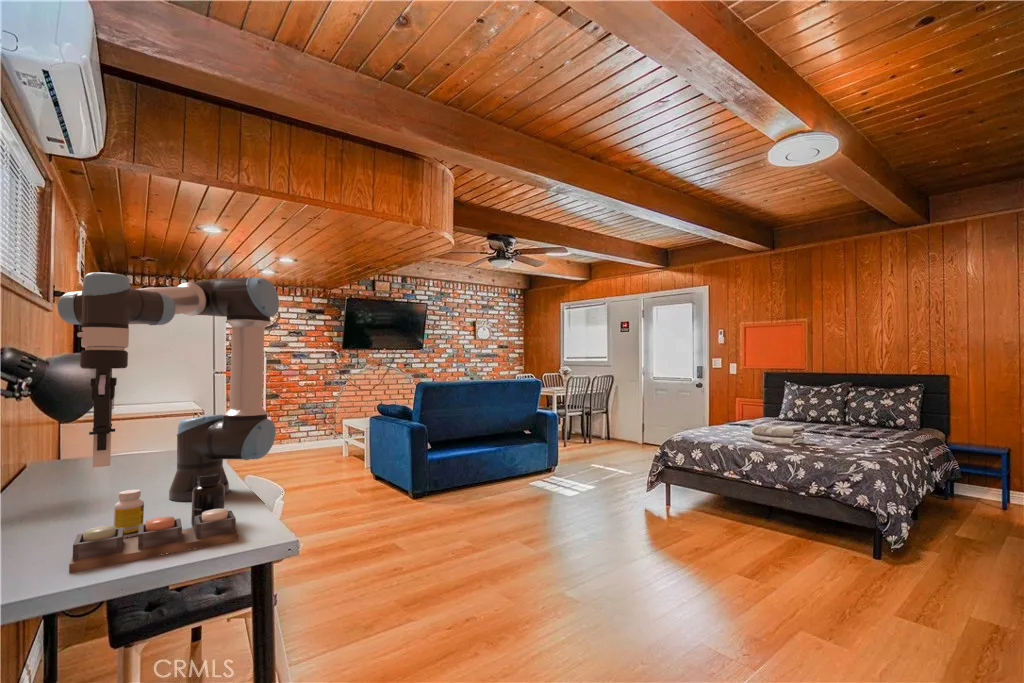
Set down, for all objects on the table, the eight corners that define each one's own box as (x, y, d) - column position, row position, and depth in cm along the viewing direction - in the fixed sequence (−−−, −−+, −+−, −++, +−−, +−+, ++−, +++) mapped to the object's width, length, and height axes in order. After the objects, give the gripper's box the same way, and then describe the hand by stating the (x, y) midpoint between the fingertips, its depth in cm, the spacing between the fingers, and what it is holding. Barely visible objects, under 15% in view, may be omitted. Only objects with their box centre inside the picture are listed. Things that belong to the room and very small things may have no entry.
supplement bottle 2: (186, 529, 118) (188, 478, 118) (196, 521, 124) (197, 472, 125) (219, 527, 119) (220, 476, 120) (227, 518, 126) (228, 470, 127)
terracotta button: (173, 526, 110) (174, 515, 110) (174, 532, 106) (175, 520, 106) (145, 530, 107) (146, 519, 107) (145, 537, 103) (145, 525, 103)
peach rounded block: (226, 517, 116) (226, 507, 116) (228, 523, 112) (229, 512, 112) (200, 521, 113) (201, 511, 113) (202, 527, 109) (202, 516, 109)
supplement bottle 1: (145, 534, 115) (146, 491, 115) (116, 540, 111) (117, 495, 111) (140, 529, 118) (141, 487, 119) (110, 535, 114) (112, 491, 115)
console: (231, 527, 119) (231, 508, 119) (238, 540, 110) (238, 520, 110) (76, 554, 103) (76, 532, 103) (68, 572, 94) (69, 548, 94)
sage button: (115, 535, 104) (116, 523, 104) (114, 542, 100) (114, 530, 100) (84, 540, 101) (84, 528, 101) (81, 548, 97) (82, 535, 97)
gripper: (84, 349, 105) (80, 463, 104) (76, 348, 95) (72, 474, 94) (129, 350, 110) (126, 458, 109) (126, 348, 99) (123, 469, 98)
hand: (101, 465), depth 101 cm, fingers closed
